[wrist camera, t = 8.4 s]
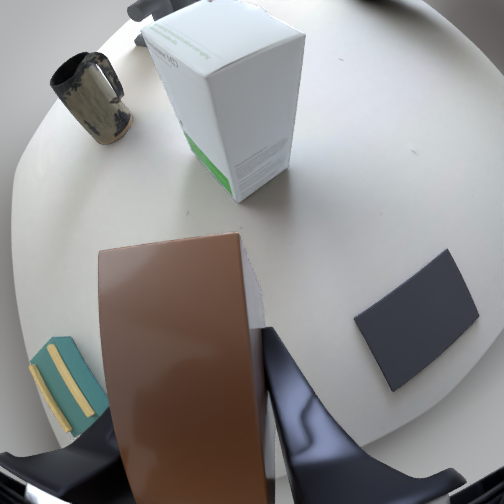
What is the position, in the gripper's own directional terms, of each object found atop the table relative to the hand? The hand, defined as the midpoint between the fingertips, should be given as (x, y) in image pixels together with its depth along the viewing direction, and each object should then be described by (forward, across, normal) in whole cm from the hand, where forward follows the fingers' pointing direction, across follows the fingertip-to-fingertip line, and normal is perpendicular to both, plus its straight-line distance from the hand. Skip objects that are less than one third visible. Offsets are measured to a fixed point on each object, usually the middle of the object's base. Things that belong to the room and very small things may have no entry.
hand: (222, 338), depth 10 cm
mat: (+8, -16, +11) cm, 21 cm away
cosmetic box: (+21, -1, -1) cm, 21 cm away
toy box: (+6, +18, +14) cm, 24 cm away
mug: (+26, +14, -7) cm, 31 cm away
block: (+2, 0, +4) cm, 5 cm away
